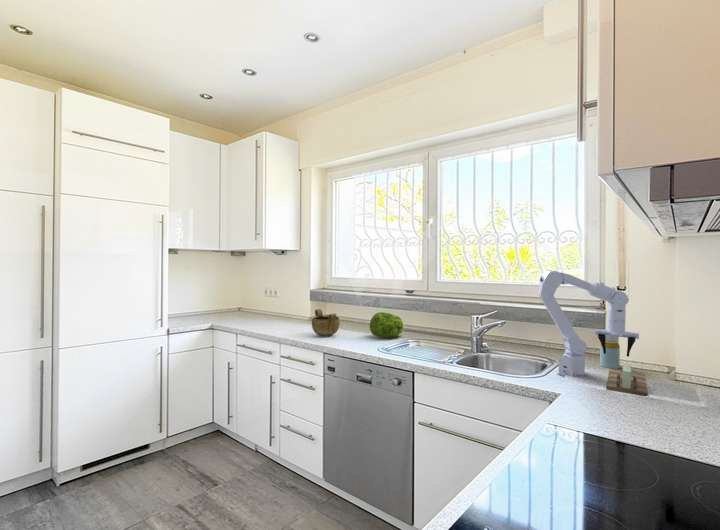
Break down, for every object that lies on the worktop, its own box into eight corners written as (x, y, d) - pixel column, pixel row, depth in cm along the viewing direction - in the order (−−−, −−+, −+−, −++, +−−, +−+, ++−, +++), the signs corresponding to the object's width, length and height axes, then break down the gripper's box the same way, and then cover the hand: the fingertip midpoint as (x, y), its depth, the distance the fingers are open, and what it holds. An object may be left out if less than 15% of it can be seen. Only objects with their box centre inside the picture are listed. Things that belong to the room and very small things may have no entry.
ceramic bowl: (305, 333, 239) (305, 309, 239) (329, 331, 248) (329, 308, 248) (321, 340, 220) (321, 314, 220) (346, 337, 229) (347, 312, 229)
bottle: (596, 367, 167) (596, 333, 166) (606, 365, 170) (607, 332, 169) (612, 372, 161) (613, 336, 160) (622, 370, 164) (623, 335, 163)
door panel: (630, 388, 137) (631, 372, 137) (622, 387, 138) (622, 370, 138) (630, 381, 145) (630, 365, 145) (622, 380, 146) (622, 364, 146)
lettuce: (408, 343, 226) (412, 318, 230) (379, 335, 216) (384, 309, 221) (392, 342, 240) (396, 318, 244) (364, 334, 230) (369, 309, 234)
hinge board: (647, 396, 132) (647, 386, 132) (606, 389, 139) (606, 380, 139) (645, 377, 153) (645, 369, 153) (609, 372, 160) (609, 364, 160)
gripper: (594, 320, 153) (594, 353, 154) (639, 323, 145) (638, 359, 145) (595, 317, 159) (595, 350, 159) (639, 321, 151) (638, 355, 151)
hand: (616, 354), depth 153 cm, fingers open, 7 cm apart
